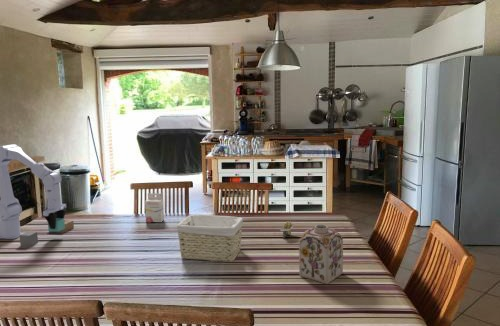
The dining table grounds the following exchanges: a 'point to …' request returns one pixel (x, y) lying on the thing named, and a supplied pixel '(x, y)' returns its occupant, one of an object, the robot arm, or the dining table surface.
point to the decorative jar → (321, 254)
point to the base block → (67, 226)
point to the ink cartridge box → (154, 208)
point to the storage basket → (210, 237)
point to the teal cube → (58, 225)
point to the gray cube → (28, 238)
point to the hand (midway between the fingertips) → (56, 226)
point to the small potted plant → (286, 229)
